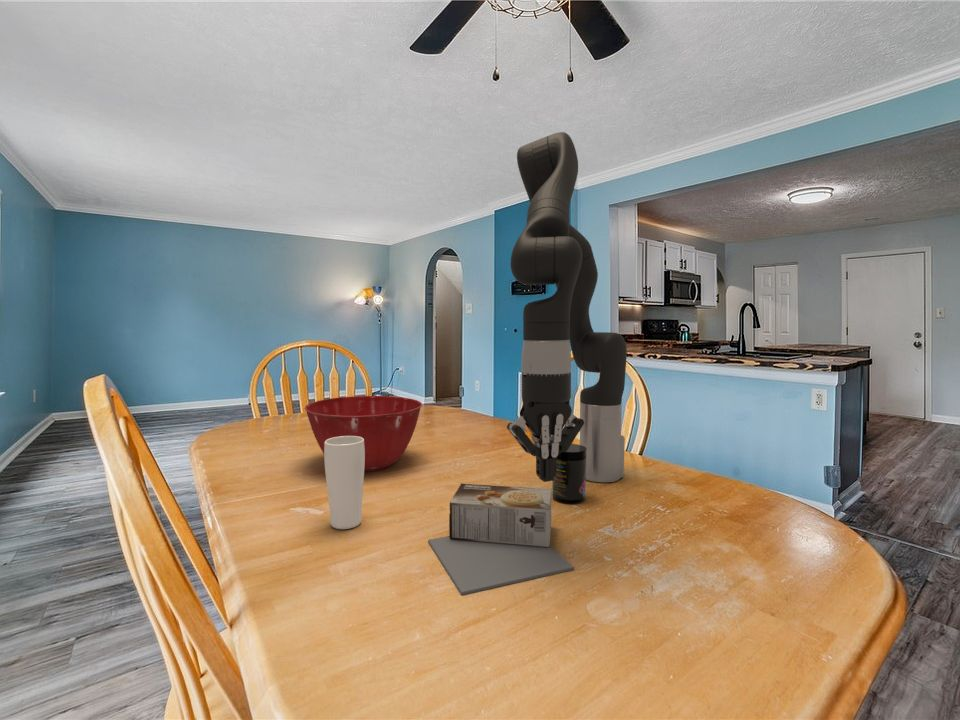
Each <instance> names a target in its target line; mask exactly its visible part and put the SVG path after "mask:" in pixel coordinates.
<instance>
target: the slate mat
mask: <svg viewBox="0 0 960 720" xmlns="http://www.w3.org/2000/svg"><path fill="white" fill-rule="evenodd" d="M427 541H428V544H429V546H430V547H431V549H432V551H433V552H434V554H435V555H436V557H437V558H438V560H439V562H440V563H441V565H442V567H443V568H444V570H445V572H446V573H447V574H448V577H449V578H450V579H451V580H452V582H453V584H454V586H455V587H456V590H458V592H459V594H460V595H461V596H466V595H468V594H473V593H477V592H478V593H479V592H482V591H487V590H491V589H494V588H500V587H504V586H508V585H513V584H517V583H521V582H526V581H530V580H535V579H538V578H545V577H547V576H552V575H556V574H560V573H565V572H570V571H574V570H575V566H574V565H573V564H571V563H570V562H569V561H568V560H567V559H566V558H564V557H563V556H562V555H561V554H560V553H559V552H557V551H556V550H555V549H554V548H552V546H551V545H549V547H540V546H528V545H517V544H505V543H493V542H481V541H469V540H458V539H450V538H449V535H447V536H441V537H436V538H431V539H428V540H427Z"/></svg>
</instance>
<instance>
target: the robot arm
mask: <svg viewBox="0 0 960 720" xmlns="http://www.w3.org/2000/svg"><path fill="white" fill-rule="evenodd" d="M516 160H517V167H518V171H519V175H520V178H521V180H522V183H523V186H524V189H525V192H526V195H527V197H528V200H529V202H530V203H529V204H528V209H527V215H526V225H525V227H524V229H523V230H522V232H521V233H520V235H519V237H518V238H517V240H516V241H515V243H514V247H513V248H512V251H511V255H510V271H511V274H512V276H513V277H514V279H515V280H516V281H517V282H518V283H520V284H522V285H524V286H525V285H526V286H536V285H537V286H541V285H542V286H543V285H544V286H545V285H555V287H556V291H555V293H553V294H552V295H551V296H549V297H546V298H543V299H539V300H533V301H530V302H527V304H525V305H524V307H523V311H522V322H523V323H522V325H523V326H522V329H523V330H522V331H523V332H522V336H523V337H522V338H523V341H522V342H523V343H522V351H521V400H522V405H521V406H522V407H521V408H520V411H519V417H518V418H517V419H516V420H515V421H514V422H509V423H507V425H506V429H507V430H508V432H509V433H510V434H511V435H512V437H513V438H514V439H515V440H516V441H517V443H518V444H519V446H520V447H521V448H522V449H523V450H524V452H525V453H527V454H530V455H531V456H532V457H535V473H536V476H537V477H538V479H539V480H540V481H542V482H544V483H545V482H552V481H553V480H554V477H555V476H556V458H557V456H558V454H560V453H561V452H566V451H567V450H568V449H569V447H570V445H571V444H573V442H574V441H575V439H576V438H577V436H578V434H579V443H578V445H582V446H584V447H586V448H587V452H586V455H587V457H586V481H590V482H596V483H614V482H616V481H619V480H620V479H622V478H621V477H623V478H624V477H625V436H624V435H622V408H623V407H622V405H623V404H622V403H623V401H622V400H623V396H624V395H623V394H624V391H625V385H626V381H625V380H626V368H627V359H628V358H627V353H628V352H627V344H626V340H625V338H624V337H623V335H621V334H620V333H617V332H611V331H610V332H607V331H605V332H602V331H601V332H599V331H597V332H595V331H594V329H593V326H592V322H591V319H590V306H591V302H592V299H593V296H594V293H595V291H596V287H597V284H598V283H597V282H598V277H599V276H598V274H599V273H598V268H597V264H596V259H595V256H594V251H593V249H592V248H593V247H592V246H591V244H590V242H589V241H588V239H587V238H586V237H585V236H584V235H583V234H582V233H581V232H579V230H577V229H576V228H575V227H574V226H573V225H571V224H570V208H571V207H570V206H571V200H572V196H573V193H574V190H575V187H576V183H577V179H578V174H579V159H578V155H577V150H576V147H575V143H574V141H573V139H572V138H571V136H570V135H569V134H568V133H567V132H564V131H560V132H554V133H551V134H549V135H547V136H544V137H542V138H539V139H536V140H533V141H531V142H529V143H526V144H524V145H522V146H520V147H519V148H518V149H517V153H516ZM572 357H573V361H574V363H575V364H576V366H577V368H579V370H581V371H583V372H585V373H586V372H587V373H597V374H598V373H599V375H598V381H597V382H596V383H595V384H593V385H591V386H588V387H585V388H582V389H581V390H580V394H579V417H577V416H576V415H575V414H573V410H572V407H571V405H570V400H571V398H572ZM527 428H528V430H529V431H530V433H531V439H530V437H529V436H528V435H527V433H526V432H527Z"/></svg>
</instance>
